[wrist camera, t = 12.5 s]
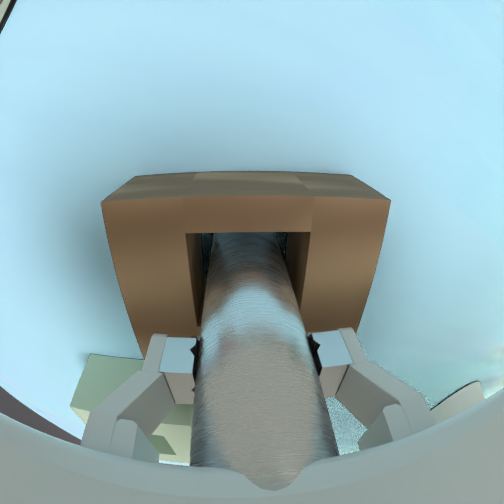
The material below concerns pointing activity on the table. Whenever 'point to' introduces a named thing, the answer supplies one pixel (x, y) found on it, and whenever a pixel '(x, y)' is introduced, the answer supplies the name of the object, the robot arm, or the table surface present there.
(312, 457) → the peg
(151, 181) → the socket block
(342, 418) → the table surface
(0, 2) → the dog bowl
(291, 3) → the table surface
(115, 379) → the square hole block
